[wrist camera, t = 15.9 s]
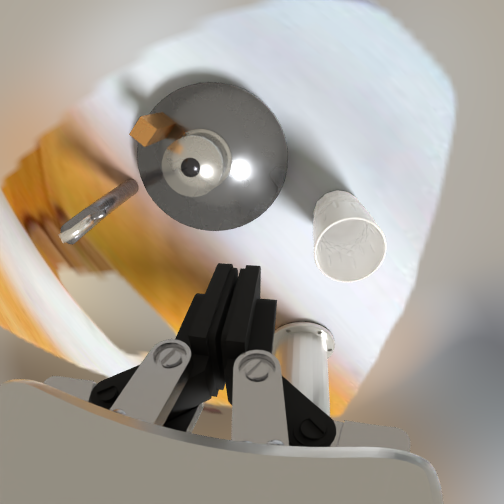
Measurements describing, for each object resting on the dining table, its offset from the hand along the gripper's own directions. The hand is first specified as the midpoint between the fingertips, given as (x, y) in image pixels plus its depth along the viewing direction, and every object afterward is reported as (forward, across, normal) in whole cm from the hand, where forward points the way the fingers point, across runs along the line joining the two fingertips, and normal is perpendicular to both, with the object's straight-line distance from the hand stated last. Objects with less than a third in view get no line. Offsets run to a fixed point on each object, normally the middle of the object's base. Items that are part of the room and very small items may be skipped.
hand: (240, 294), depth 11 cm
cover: (+23, +9, -1) cm, 25 cm away
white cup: (+26, -9, +7) cm, 29 cm away
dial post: (+26, +21, +4) cm, 34 cm away
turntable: (+26, +8, -1) cm, 27 cm away
